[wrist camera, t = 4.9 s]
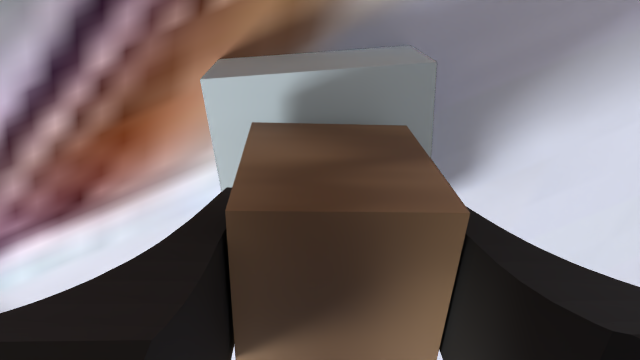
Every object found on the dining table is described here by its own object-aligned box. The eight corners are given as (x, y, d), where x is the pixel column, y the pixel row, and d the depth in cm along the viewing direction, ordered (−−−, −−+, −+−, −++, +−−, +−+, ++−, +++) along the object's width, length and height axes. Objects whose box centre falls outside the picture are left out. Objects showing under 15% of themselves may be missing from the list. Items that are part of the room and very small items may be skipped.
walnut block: (406, 125, 12) (470, 212, 8) (389, 251, 14) (432, 379, 10) (251, 122, 12) (225, 210, 7) (256, 251, 14) (237, 382, 9)
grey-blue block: (408, 44, 15) (436, 61, 12) (403, 206, 19) (425, 254, 15) (220, 57, 15) (200, 79, 12) (246, 219, 18) (236, 269, 15)
